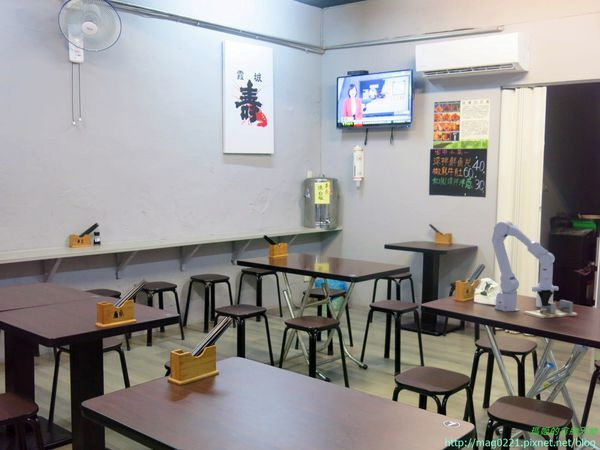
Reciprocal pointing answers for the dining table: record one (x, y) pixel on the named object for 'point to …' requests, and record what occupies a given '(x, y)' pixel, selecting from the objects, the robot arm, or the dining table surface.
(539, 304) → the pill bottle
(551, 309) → the grey block with hole
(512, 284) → the robot arm
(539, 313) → the bolt board
